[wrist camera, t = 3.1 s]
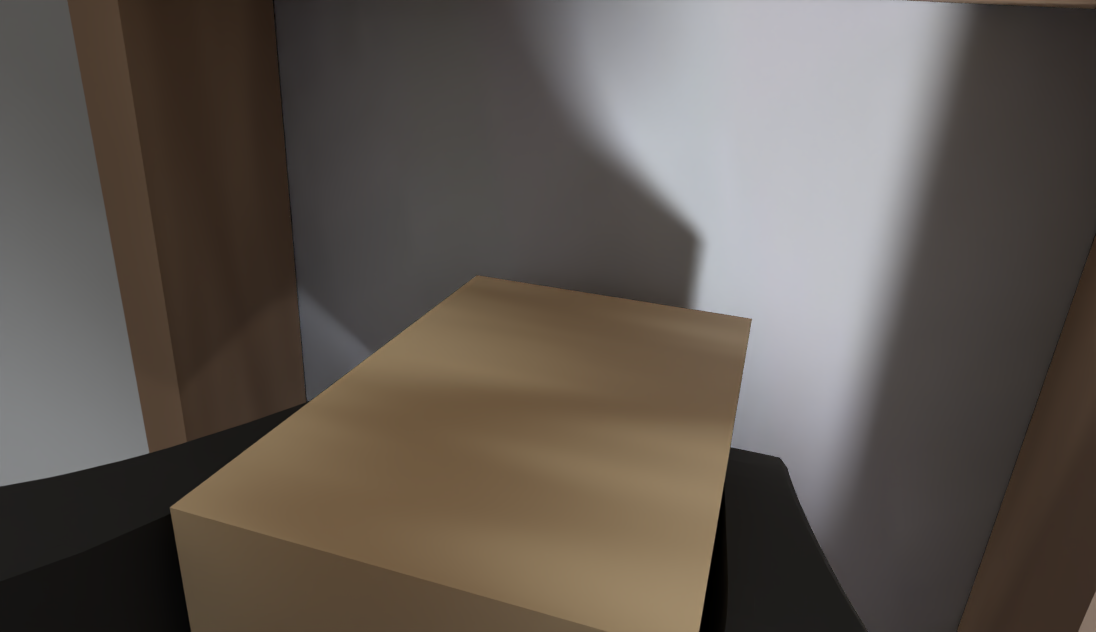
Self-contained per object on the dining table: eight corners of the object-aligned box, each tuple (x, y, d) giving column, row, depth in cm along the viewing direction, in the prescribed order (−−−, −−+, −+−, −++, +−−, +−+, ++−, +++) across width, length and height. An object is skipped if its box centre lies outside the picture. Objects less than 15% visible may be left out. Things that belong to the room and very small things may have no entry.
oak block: (751, 318, 10) (694, 657, 5) (711, 556, 11) (632, 1019, 6) (476, 275, 11) (169, 507, 6) (473, 498, 12) (229, 846, 7)
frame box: (1290, -65, 8) (1543, -114, 5) (953, 797, 13) (992, 995, 10) (221, -88, 11) (45, -123, 9) (292, 595, 17) (194, 703, 14)
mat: (165, -35, 12) (146, -37, 12) (243, 553, 17) (231, 565, 16) (-174, -50, 14) (-199, -52, 14) (-22, 475, 19) (-38, 483, 18)
